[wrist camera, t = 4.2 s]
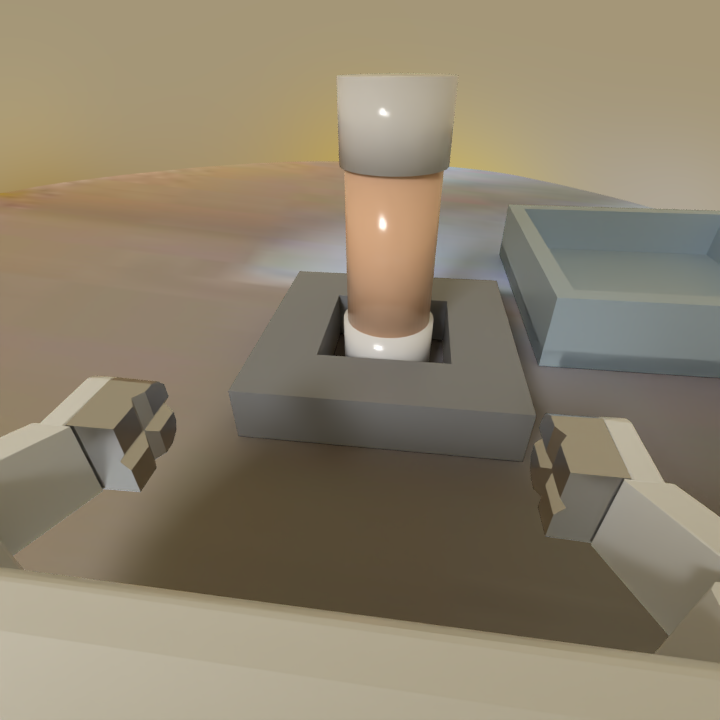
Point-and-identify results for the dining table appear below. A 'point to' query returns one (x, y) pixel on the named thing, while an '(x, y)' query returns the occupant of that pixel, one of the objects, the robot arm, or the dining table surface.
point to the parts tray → (617, 287)
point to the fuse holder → (388, 378)
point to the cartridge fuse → (392, 206)
